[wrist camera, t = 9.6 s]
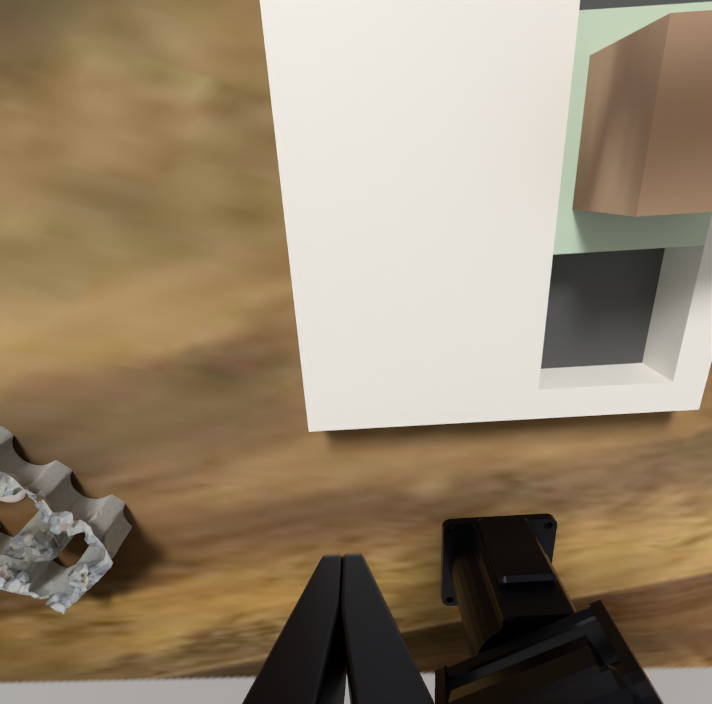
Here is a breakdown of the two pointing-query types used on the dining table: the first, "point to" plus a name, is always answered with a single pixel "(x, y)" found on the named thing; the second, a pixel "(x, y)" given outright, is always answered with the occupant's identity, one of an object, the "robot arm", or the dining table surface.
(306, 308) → the tray
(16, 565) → the egg carton
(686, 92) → the walnut block
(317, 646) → the robot arm
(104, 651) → the dining table surface
